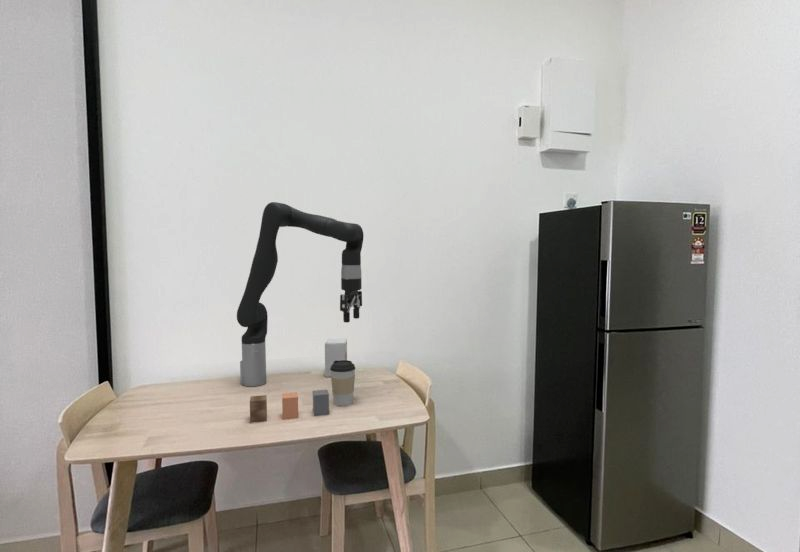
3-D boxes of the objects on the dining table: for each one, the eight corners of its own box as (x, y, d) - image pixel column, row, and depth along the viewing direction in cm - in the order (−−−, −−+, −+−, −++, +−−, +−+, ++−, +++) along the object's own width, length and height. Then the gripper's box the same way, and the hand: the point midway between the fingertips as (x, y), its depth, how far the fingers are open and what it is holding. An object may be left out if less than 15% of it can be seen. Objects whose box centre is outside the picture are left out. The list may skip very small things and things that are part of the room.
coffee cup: (359, 399, 159) (359, 359, 158) (349, 408, 150) (348, 366, 149) (337, 396, 162) (337, 357, 161) (326, 405, 153) (325, 363, 152)
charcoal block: (313, 416, 144) (313, 395, 143) (312, 410, 148) (312, 390, 148) (329, 414, 145) (328, 394, 144) (327, 409, 150) (327, 389, 149)
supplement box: (345, 377, 186) (345, 342, 185) (324, 377, 186) (324, 343, 185) (347, 371, 195) (347, 338, 194) (327, 371, 195) (327, 338, 194)
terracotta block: (282, 419, 141) (282, 398, 140) (282, 413, 146) (282, 393, 145) (298, 417, 142) (297, 397, 142) (297, 412, 147) (297, 392, 147)
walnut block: (250, 423, 138) (249, 401, 138) (251, 417, 143) (250, 396, 143) (266, 421, 140) (266, 400, 139) (267, 415, 144) (266, 394, 144)
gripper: (350, 275, 169) (350, 316, 170) (333, 278, 155) (333, 323, 156) (368, 276, 166) (368, 317, 168) (352, 278, 153) (352, 324, 154)
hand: (351, 320), depth 162 cm, fingers open, 8 cm apart
